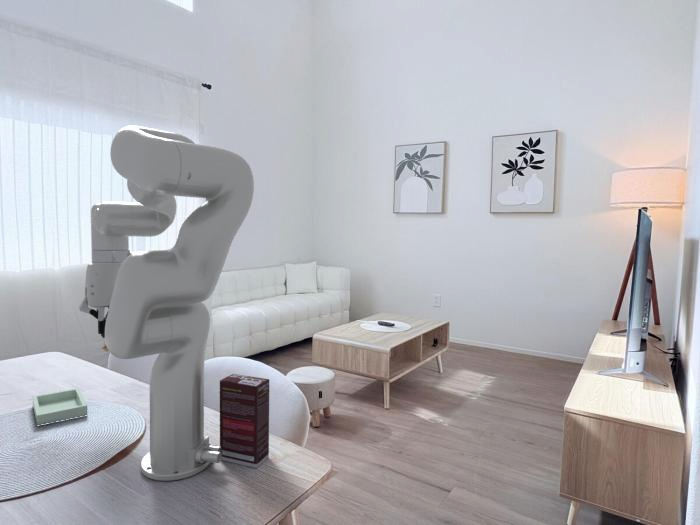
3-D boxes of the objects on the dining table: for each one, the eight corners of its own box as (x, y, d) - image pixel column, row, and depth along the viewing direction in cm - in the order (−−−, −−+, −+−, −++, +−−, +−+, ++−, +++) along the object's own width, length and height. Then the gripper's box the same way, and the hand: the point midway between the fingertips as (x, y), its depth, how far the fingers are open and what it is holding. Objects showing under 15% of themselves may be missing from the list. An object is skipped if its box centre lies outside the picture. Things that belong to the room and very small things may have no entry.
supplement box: (269, 457, 86) (271, 378, 85) (256, 469, 81) (257, 386, 80) (232, 448, 89) (233, 372, 88) (218, 460, 84) (218, 380, 83)
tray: (87, 416, 102) (87, 405, 102) (37, 427, 96) (36, 415, 96) (78, 397, 112) (78, 388, 112) (32, 406, 106) (32, 396, 106)
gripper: (144, 255, 109) (144, 328, 110) (67, 257, 99) (68, 337, 100) (152, 257, 103) (153, 334, 104) (71, 259, 93) (73, 344, 94)
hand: (111, 335), depth 102 cm, fingers closed on grandmother figurine, 2 cm apart
